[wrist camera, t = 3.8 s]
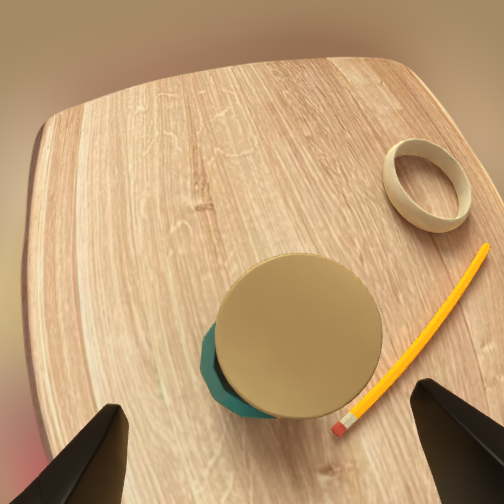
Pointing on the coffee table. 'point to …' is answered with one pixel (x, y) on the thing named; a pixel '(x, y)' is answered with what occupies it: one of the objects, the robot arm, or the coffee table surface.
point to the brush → (298, 336)
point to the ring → (407, 205)
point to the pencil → (412, 347)
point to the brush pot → (223, 381)
